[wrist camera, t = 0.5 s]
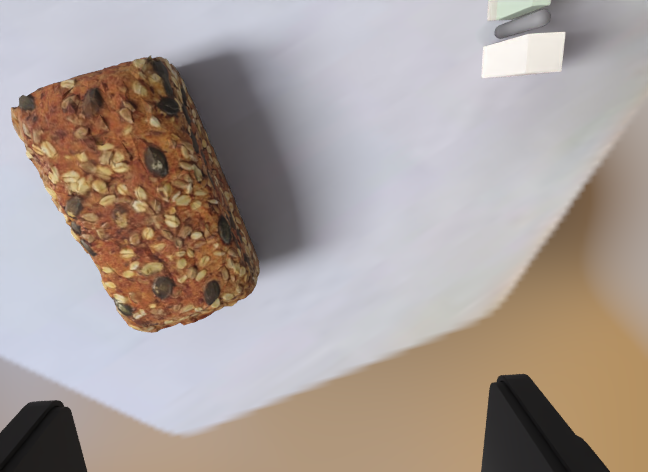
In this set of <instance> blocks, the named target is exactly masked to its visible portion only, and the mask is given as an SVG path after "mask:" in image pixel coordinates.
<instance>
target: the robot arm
mask: <svg viewBox="0 0 648 472" xmlns="http://www.w3.org/2000/svg"><path fill="white" fill-rule="evenodd" d="M0 472H87V469H86V465H85V461H84V457H83V454H82V450H81V446H80V442H79V439H78V435H77V431H76V427H75V424H74V420H73V416H72V412H71V410H70V409H69V408H68V407H64V405H63V403H62V402H61V401H57V400H55V401H37V402H30V403H28V404H27V405H26V406H24V407H23V408H22V410H21V411H20V412H19V413H18V414H17V415H16V416H15V417H14V418H13V419H12V421H11V422H10V423H9V424H8V425H7V426H6V427H5V428H4V429H3V430H2V432H1V433H0ZM481 472H610V471H609V470H608V468H607V467H606V466H605V465H604V464H603V462H602V461H601V460H600V459H599V457H598V456H597V455H596V454H595V452H594V451H593V450H592V449H591V448H590V446H589V445H588V444H587V443H586V442H585V441H584V440H583V439H582V438H581V437H579V436H577V435H575V433H574V432H573V431H572V430H571V428H570V427H569V426H568V425H567V423H566V422H565V421H564V420H563V418H562V417H561V416H560V415H559V413H558V412H557V411H556V410H555V408H554V407H553V406H552V405H551V403H550V402H549V401H548V400H547V398H546V397H545V396H544V395H543V393H542V392H541V391H540V390H539V388H538V387H537V386H536V385H535V383H534V382H533V381H532V380H531V378H530V377H529V376H528V375H526V374H516V375H501V376H499V377H498V379H497V382H495V383H491V385H490V390H489V400H488V410H487V420H486V430H485V440H484V449H483V459H482V470H481Z"/></svg>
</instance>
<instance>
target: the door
mask: <svg viewBox="0 0 648 472" xmlns="http://www.w3.org/2000/svg"><path fill="white" fill-rule="evenodd" d="M550 2H551V0H498V1H497V17H496V20H512V19H514V18H517V17H519V16H522V15H525V14H527V13H530V12H533V11H535V10H538V9H540V8H543V7H546V6H548V5H550ZM550 18H551V14H550V12H549V11H548V10H546V9H542V10H539V11H537V12H534V13H531V14H529V15H526V16H523V17H521V18H518V19H515V20H513V21H510V22H507V23H505V24H502V25H499V26H498V27H497V28H496V29H495V36H496V37H497V38H499V39H502V38H505V37H508V36H512V35H515V34H518V33H522V32H525V31H528V30H532V29H535V28H538V27H541V26H545V25H546V24H548V23H549V21H550Z"/></svg>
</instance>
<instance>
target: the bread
mask: <svg viewBox="0 0 648 472" xmlns="http://www.w3.org/2000/svg"><path fill="white" fill-rule="evenodd" d="M11 117H12V122H13V126H14V129H15V130H16V132H17V134H18V136H19V137H20V139H21V140H22V141H23V142H24V143H25V147H26V150H27V152H26V155H27V157H28V158H29V159H30V160H31V161H32V162H33V164H34V165H35V167H36V168H37V170H38V171H39V174H40V177H41V178H42V180H43V183H44V186H45V188H46V190H47V191H48V193H49V194H50V195H51V196H52V201H53V202H54V203H55V205H56V206H57V208H58V210H59V211H60V212H61V213H63V214H64V217H65V219H66V223H67V224H68V225H69V226H70V227H71V234H72V235H73V237H74V238H75V239H76V241H78V242H79V243H80V244H81V246H82V247H83V248H84V250H85V251H86V253H88V254H90V256H91V258H92V259H93V261H94V263H95V265H96V266H97V268H98V269H99V271H100V274H101V277H102V284H103V286H104V288H105V290H106V291H107V292H108V294H109V296H110V297H111V298H112V299H113V300H114V302H115V305H116V309H117V311H118V312H119V314H120V315H121V316H122V318H123V319H124V320H125V321H126V322H127V324H128V325H129V326H130V327H132V328H133V329H136V330H139V331H144V332H151V333H152V332H158V331H159V330H160V329H163V328H167V327H171V326H174V325H176V324H178V323H181V324H183V325H186V324H189V323H194V322H196V321H198V320H200V319H203V318H205V317H207V316H209V315H211V314H212V313H213V312H215V311H217V310H220V309H221V308H223V307H224V306H233V305H234V304H235V303H237V301H238V300H241V299H244V298H246V297H247V296H248V295H249V294H251V293H252V291H253V290H254V288H255V286H256V283H257V277H258V275H259V273H260V270H259V260H258V258H257V255H256V252H255V249H254V247H253V244H252V242H251V240H250V237H249V235H248V233H247V230H246V227H245V225H244V222H243V220H242V218H241V217H240V214H239V210H238V207H237V205H236V203H235V199H234V197H233V195H232V193H231V191H230V187H229V186H228V184H227V181H226V179H225V176H224V174H223V172H222V170H221V167H220V165H219V162H218V160H217V158H216V155H215V152H214V149H213V147H212V146H211V144H210V142H209V139H208V135H207V133H206V131H205V129H204V127H203V125H202V122H201V120H200V117H199V115H198V113H197V110H196V108H195V105H194V103H193V101H192V99H191V97H190V96H189V94H188V92H187V89H186V86H185V84H184V82H183V80H182V78H181V77H180V74H179V72H178V71H177V70H176V69H175V67H174V65H172V64H169V62H168V60H167V59H163V58H162V57H156V58H153V59H152V58H151V55H150V56H149V57H148V58H141V59H135V60H134V61H132V62H125V63H120V64H119V65H117V66H111V67H108V68H104V69H103V70H99V71H95V72H91V73H87V74H83V75H79V76H77V77H74V78H71V79H68V80H65V81H62V82H57V83H53V84H51V85H48V86H45V87H42V88H39V89H37V90H36V91H35V92H33V93H31V94H30V95H28V96H24V95H22V96H21V97H20V98H19V106H18V107H12V108H11Z"/></svg>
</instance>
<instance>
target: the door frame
mask: <svg viewBox="0 0 648 472" xmlns="http://www.w3.org/2000/svg"><path fill="white" fill-rule="evenodd" d="M497 1H498V0H488V15H487V21H496V17H497ZM564 41H565V32H553V33H534V34H527V35H523V36H520V37H516V38H513V39H509V40H506V41H502V42H499V43H495V44H492V45H488V46H485V47H483V61H482V78H495V77H511V76H521V75H531V74H540V73H550V72H560V71H561V69H562V60H563V50H564Z"/></svg>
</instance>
